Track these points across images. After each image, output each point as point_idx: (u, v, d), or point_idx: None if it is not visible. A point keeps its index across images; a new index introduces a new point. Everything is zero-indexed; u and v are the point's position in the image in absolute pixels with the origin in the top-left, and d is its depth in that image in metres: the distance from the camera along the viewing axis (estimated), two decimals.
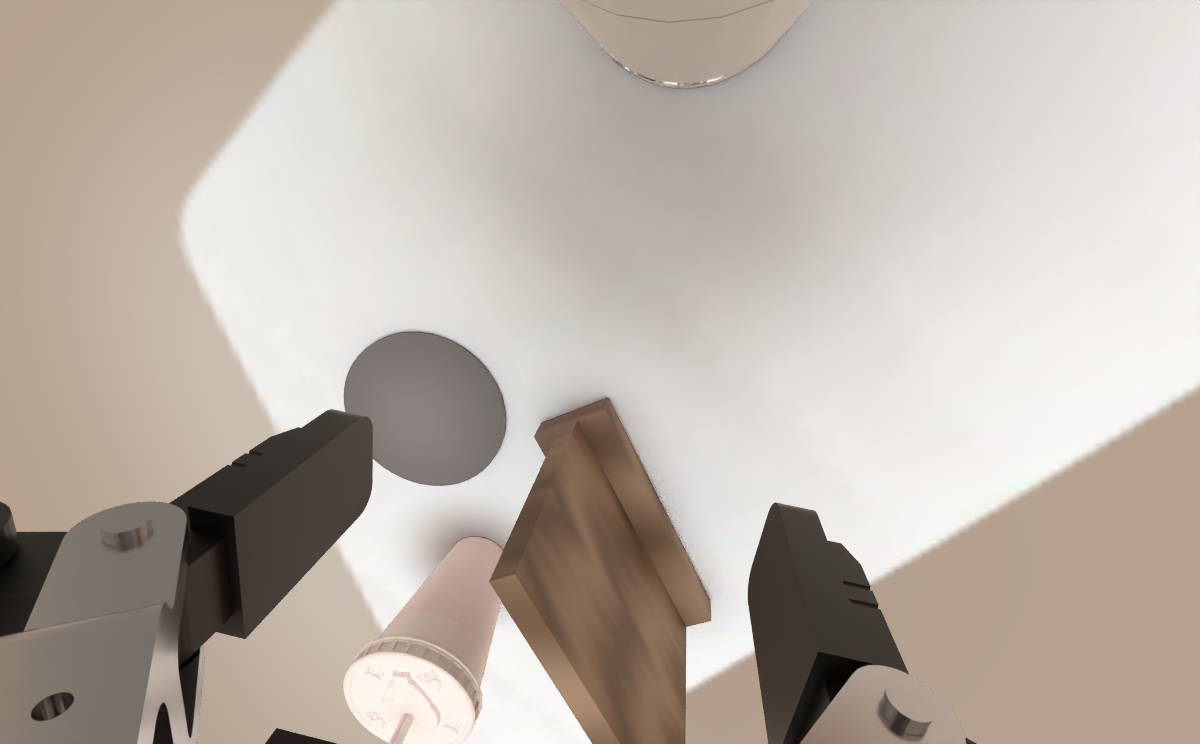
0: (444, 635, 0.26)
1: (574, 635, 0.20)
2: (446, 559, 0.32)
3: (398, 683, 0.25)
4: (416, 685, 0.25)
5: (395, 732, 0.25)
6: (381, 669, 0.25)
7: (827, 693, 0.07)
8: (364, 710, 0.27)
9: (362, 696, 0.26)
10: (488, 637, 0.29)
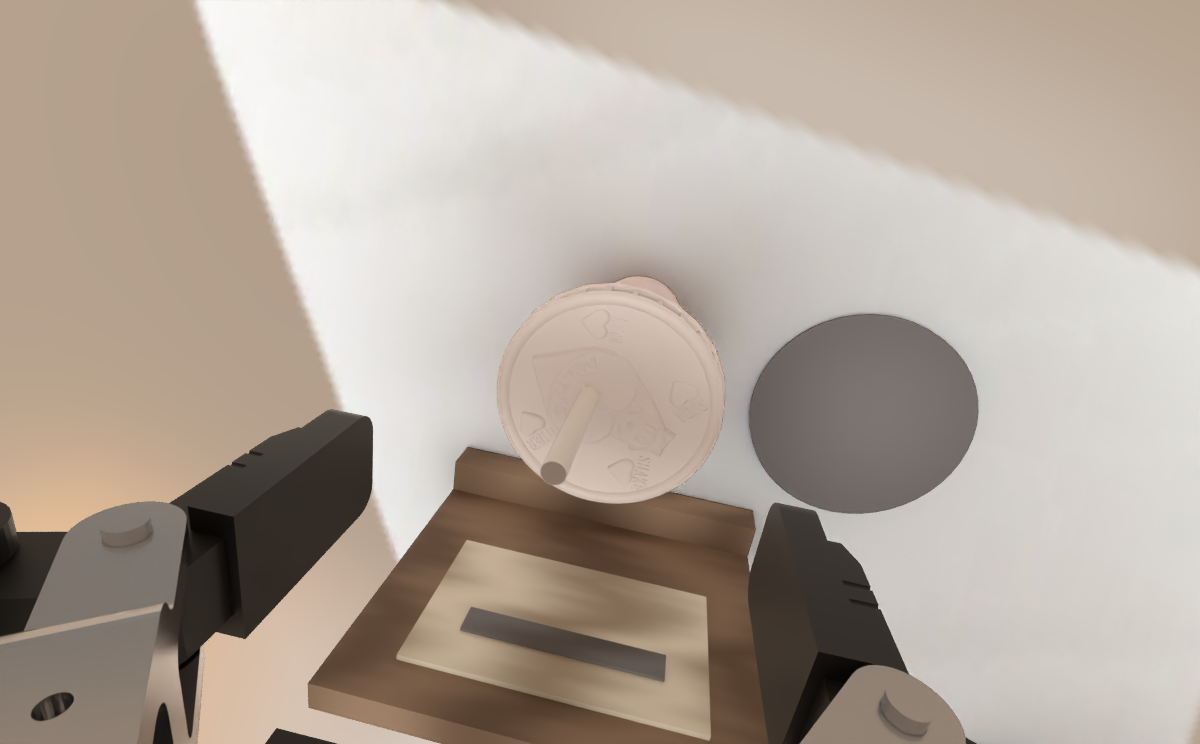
0: None
1: None
2: None
3: (655, 435, 0.15)
4: (634, 449, 0.16)
5: (593, 411, 0.14)
6: (686, 419, 0.15)
7: (827, 693, 0.07)
8: (630, 321, 0.15)
9: (658, 343, 0.15)
10: None
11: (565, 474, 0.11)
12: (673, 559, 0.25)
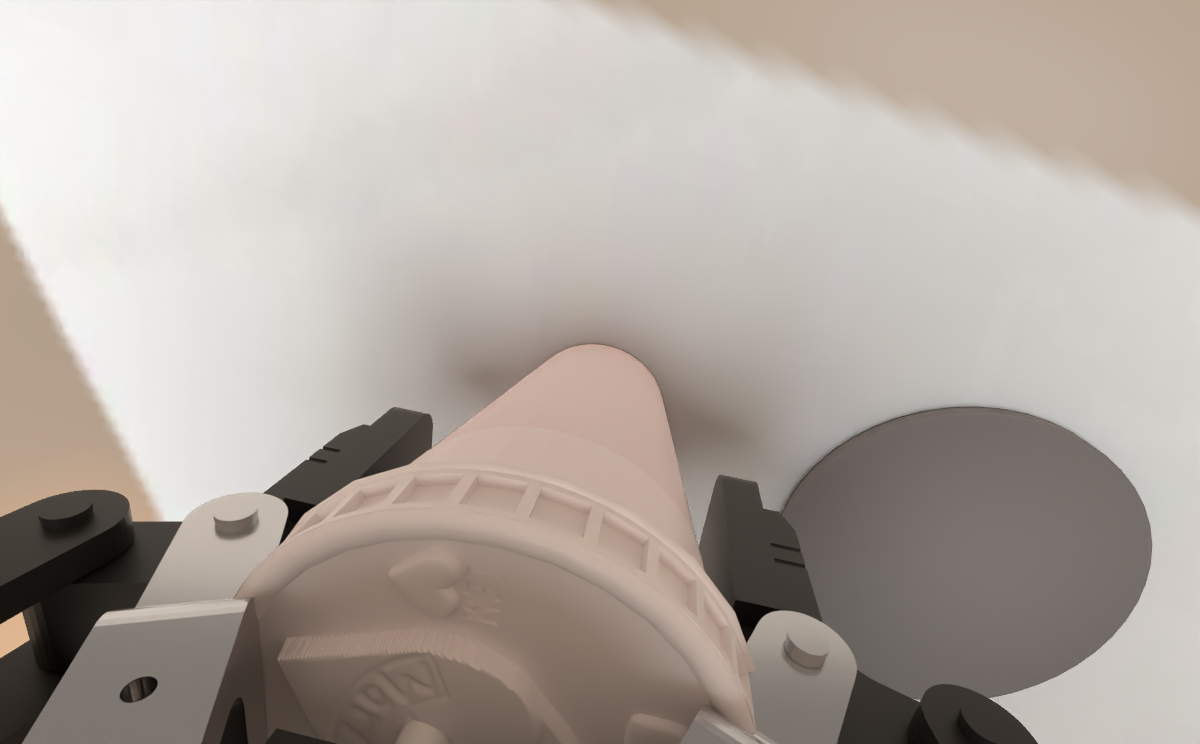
0: None
1: None
2: None
3: None
4: None
5: None
6: None
7: None
8: (514, 581, 0.06)
9: (589, 633, 0.06)
10: None
11: None
12: None
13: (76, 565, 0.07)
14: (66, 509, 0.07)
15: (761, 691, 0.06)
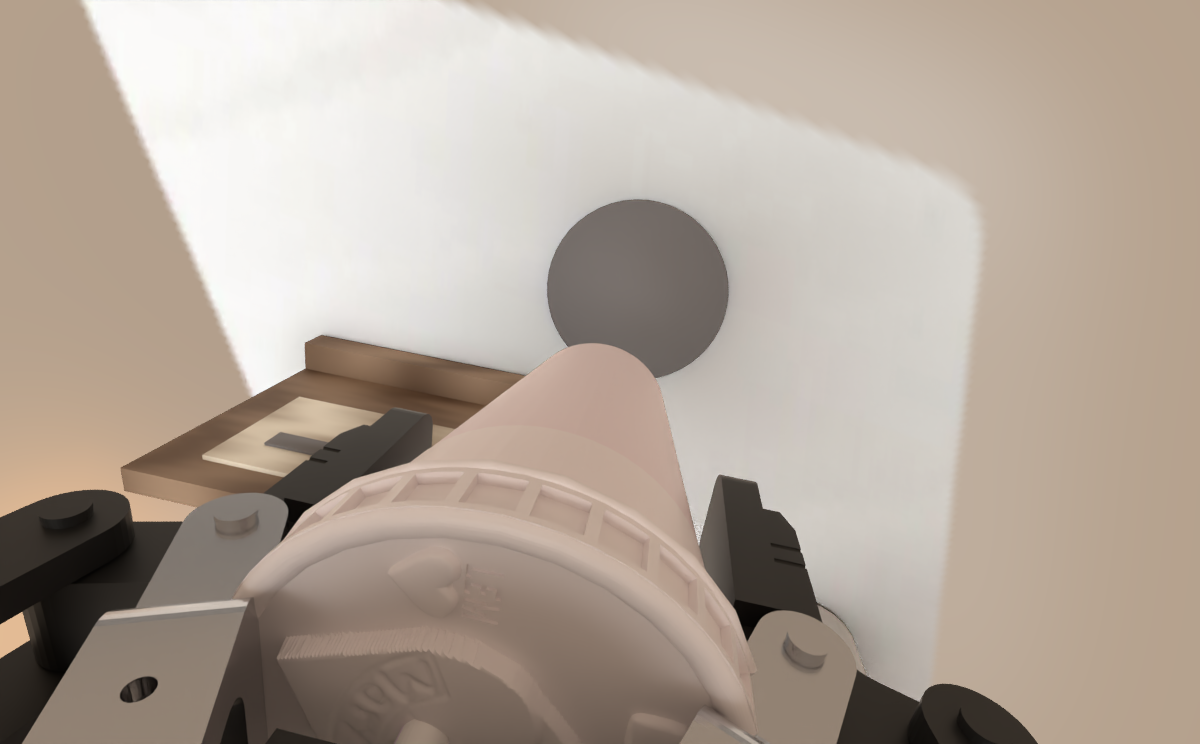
0: None
1: None
2: None
3: None
4: None
5: None
6: None
7: None
8: (513, 580, 0.06)
9: (589, 632, 0.06)
10: None
11: None
12: None
13: (76, 565, 0.07)
14: (66, 510, 0.07)
15: (761, 691, 0.06)
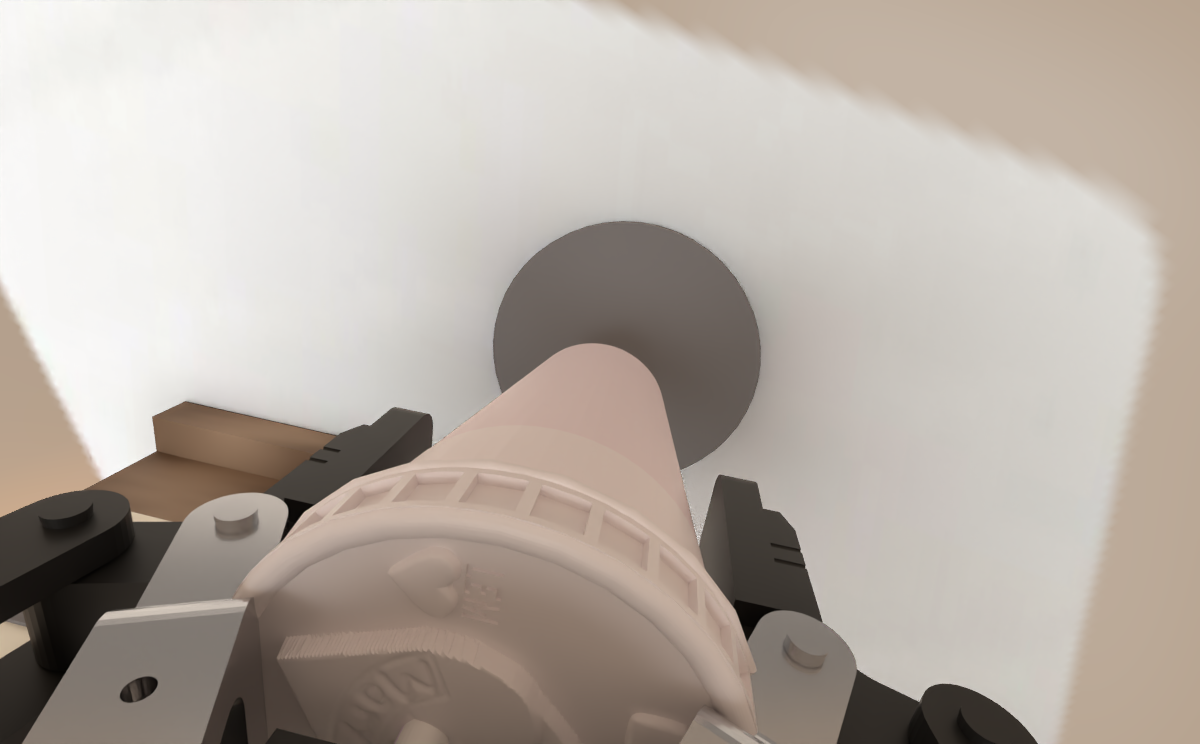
0: None
1: None
2: None
3: None
4: None
5: None
6: None
7: None
8: (513, 579, 0.06)
9: (589, 632, 0.06)
10: None
11: None
12: None
13: (77, 565, 0.07)
14: (66, 509, 0.07)
15: (761, 690, 0.06)
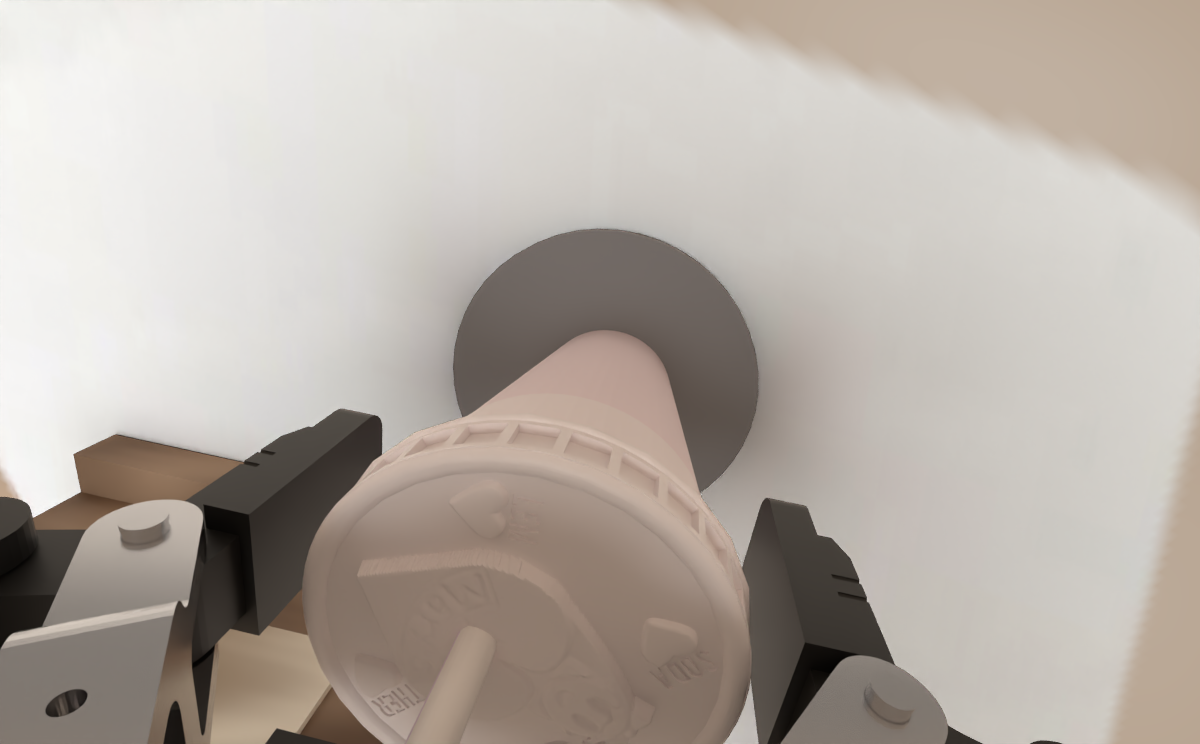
0: None
1: None
2: None
3: (613, 716, 0.08)
4: None
5: (471, 709, 0.07)
6: (676, 684, 0.08)
7: (814, 683, 0.07)
8: (551, 506, 0.07)
9: (612, 549, 0.07)
10: None
11: None
12: None
13: None
14: None
15: None
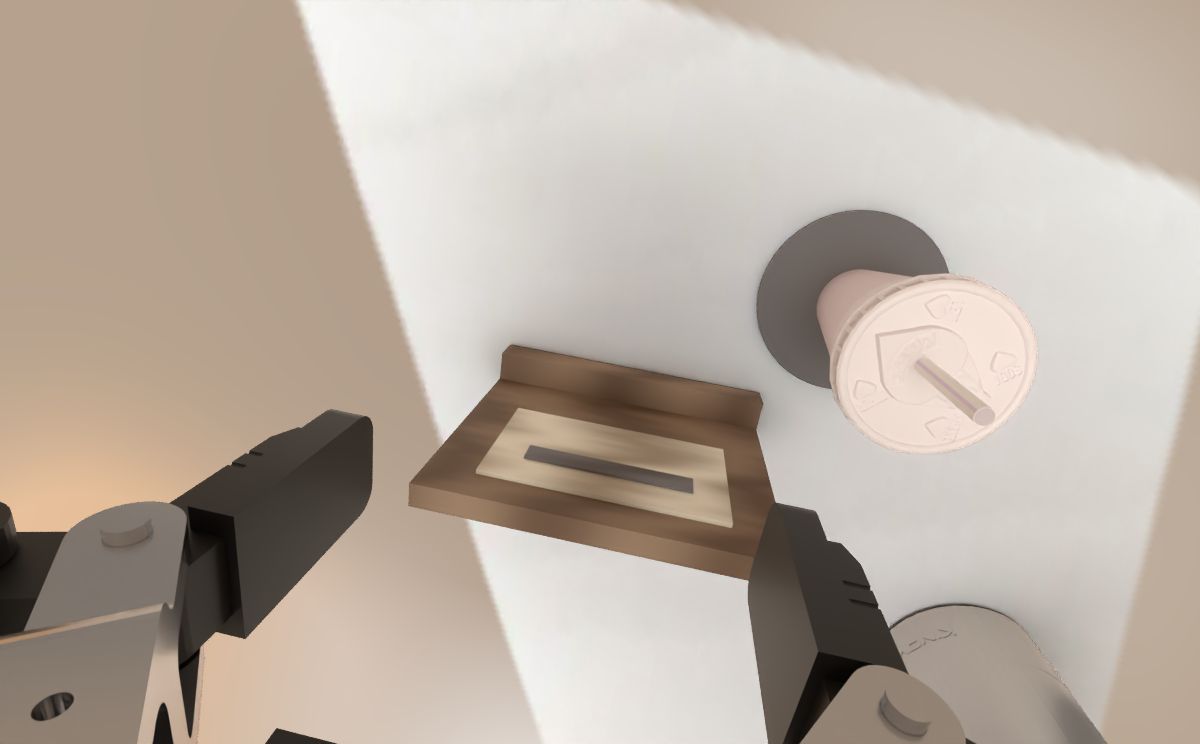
0: None
1: None
2: None
3: (975, 396, 0.19)
4: (952, 408, 0.20)
5: None
6: (1001, 382, 0.19)
7: (827, 693, 0.07)
8: (967, 304, 0.18)
9: (988, 321, 0.18)
10: None
11: (995, 417, 0.15)
12: (693, 427, 0.29)
13: None
14: None
15: None
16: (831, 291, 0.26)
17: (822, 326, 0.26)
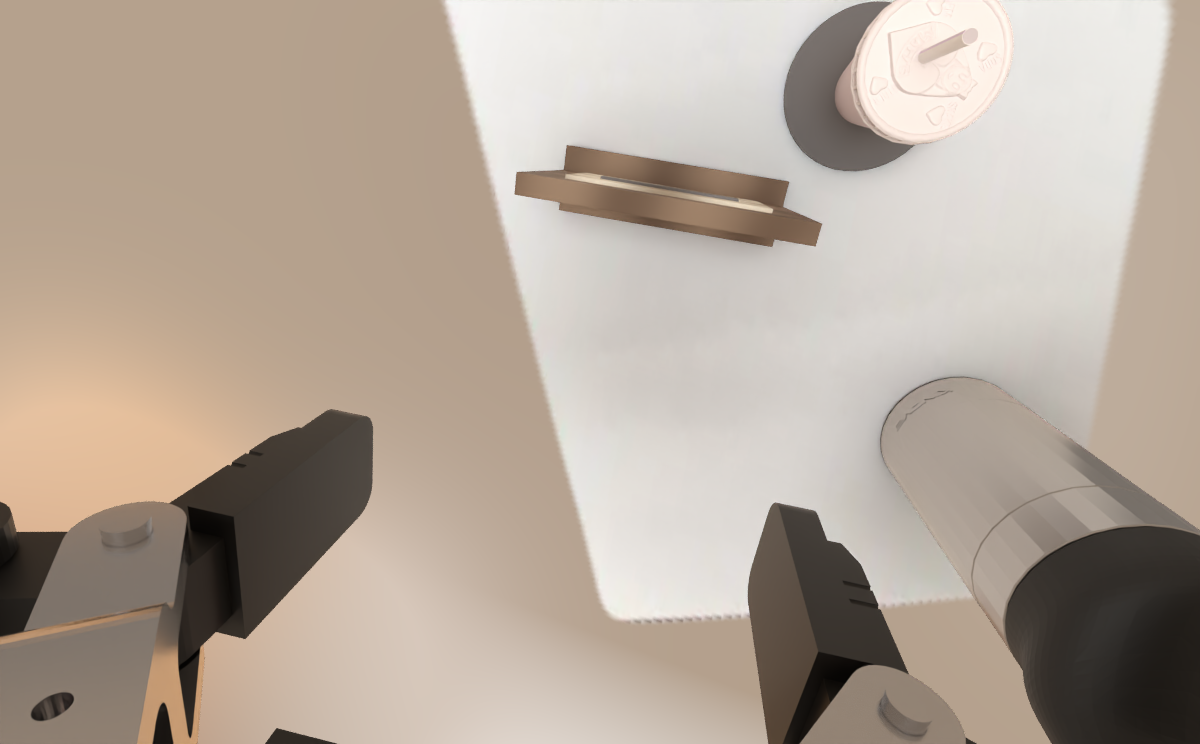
0: None
1: None
2: None
3: (965, 82, 0.25)
4: (947, 96, 0.25)
5: None
6: (986, 70, 0.25)
7: (827, 693, 0.07)
8: (958, 1, 0.24)
9: (975, 15, 0.24)
10: None
11: (978, 35, 0.21)
12: None
13: None
14: None
15: None
16: (848, 65, 0.32)
17: (841, 90, 0.31)
